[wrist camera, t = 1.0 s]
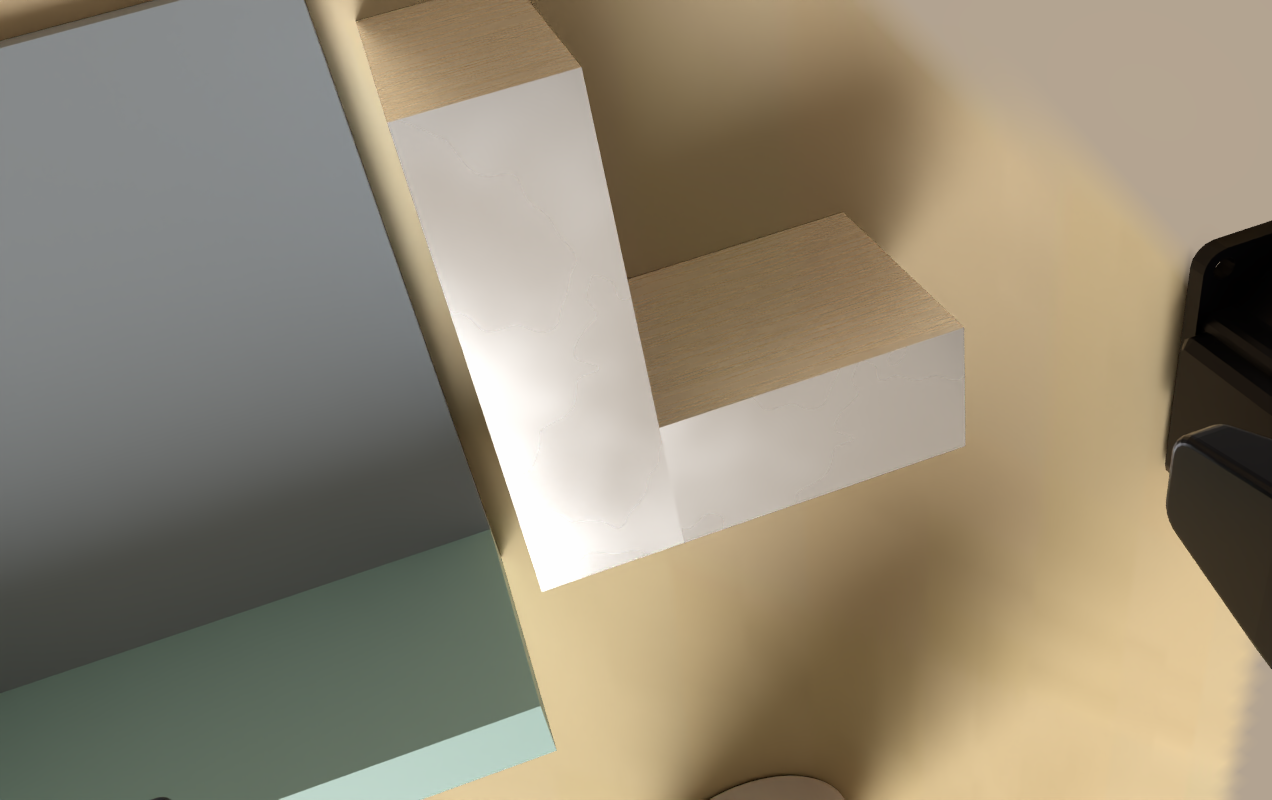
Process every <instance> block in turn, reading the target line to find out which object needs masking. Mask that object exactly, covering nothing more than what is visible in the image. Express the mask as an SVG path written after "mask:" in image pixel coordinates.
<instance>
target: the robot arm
mask: <svg viewBox="0 0 1272 800" xmlns="http://www.w3.org/2000/svg"><path fill="white" fill-rule="evenodd" d="M1219 262H1220V263H1219ZM1218 263H1219V264H1218ZM1217 264H1218V265H1217ZM1216 265H1217V266H1216ZM1165 466H1166V470H1167V471H1168V472H1169V481H1168V489H1167V497H1166V509H1167V515H1168V518H1169V521H1170V523H1171V525H1172V528H1173V529H1174V531H1175V533H1176V534H1177V536H1178V537H1179V538H1180V540H1181V541H1182V543H1183V544H1184V546H1185V547H1186V549H1187V550H1188V551H1189V553H1190V554H1191V556H1192V557H1193V559H1194V560H1195V561H1196V563H1197V564H1198V566H1199V567H1200V569H1201V570H1202V572H1203V573H1204V574H1205V576H1206V577H1207V579H1208V580H1209V582H1210V583H1211V584H1212V586H1213V587H1214V589H1215V590H1216V592H1217V593H1218V595H1219V596H1220V597H1221V599H1222V600H1223V602H1224V603H1225V605H1226V606H1227V607H1228V609H1229V610H1230V612H1231V613H1232V615H1233V616H1234V618H1235V619H1236V620H1237V622H1238V623H1239V625H1240V626H1241V628H1242V629H1243V630H1244V632H1245V633H1246V635H1247V636H1248V638H1249V639H1250V641H1251V642H1252V643H1253V645H1254V646H1255V648H1256V649H1257V650H1258V652H1259V653H1260V654H1261V656H1262V657H1263V658H1264V660H1265V661H1266V662H1267V664H1268V665H1269V666H1270V668H1271V669H1272V221H1269V222H1266V223H1263V224H1260V225H1257V226H1254V227H1251V228H1248V229H1245V230H1242V231H1239V232H1236V233H1233V234H1230V235H1227V236H1224V237H1220V238H1218V239H1214V240H1212V241H1211V242H1209V243H1207V244H1205V245H1204V246H1203V247H1202V248H1201V249H1200V250H1199V251H1198V252H1197V254H1196V255H1195V257H1194V258H1193V260H1192V264H1191V267H1190V274H1189V282H1188V290H1187V298H1186V306H1185V313H1184V321H1183V329H1182V337H1181V345H1180V352H1179V360H1178V368H1177V376H1176V384H1175V391H1174V399H1173V407H1172V415H1171V423H1170V431H1169V438H1168V446H1167V454H1166V462H1165ZM151 800H171V799H169V798H167V797H157V798H154V799H151Z"/></svg>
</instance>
